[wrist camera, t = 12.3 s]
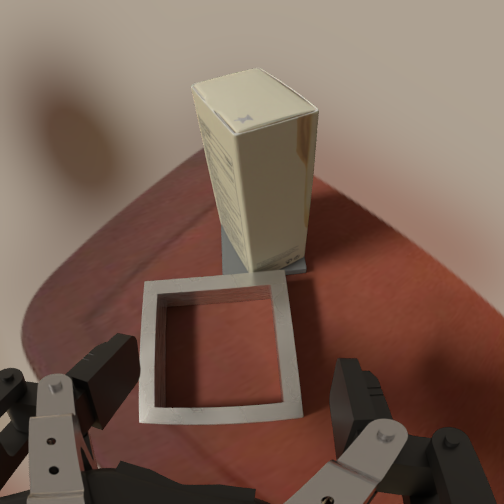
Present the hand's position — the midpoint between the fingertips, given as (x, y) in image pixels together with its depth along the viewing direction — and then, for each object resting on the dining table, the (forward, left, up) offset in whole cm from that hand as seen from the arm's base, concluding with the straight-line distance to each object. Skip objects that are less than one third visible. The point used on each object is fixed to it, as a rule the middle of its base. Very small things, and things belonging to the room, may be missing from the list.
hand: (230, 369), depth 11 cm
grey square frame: (+3, +2, -8) cm, 9 cm away
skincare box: (+11, -2, -8) cm, 14 cm away
